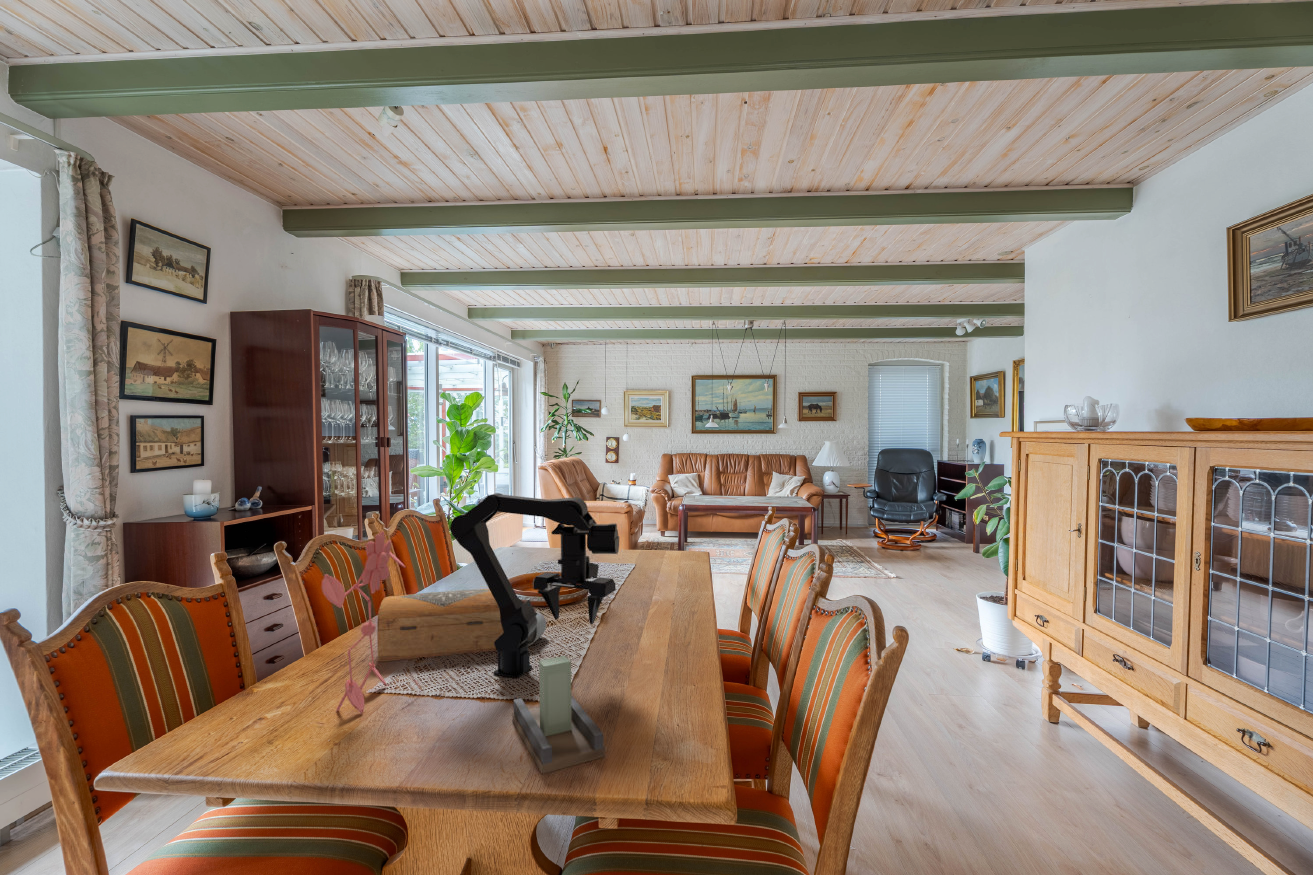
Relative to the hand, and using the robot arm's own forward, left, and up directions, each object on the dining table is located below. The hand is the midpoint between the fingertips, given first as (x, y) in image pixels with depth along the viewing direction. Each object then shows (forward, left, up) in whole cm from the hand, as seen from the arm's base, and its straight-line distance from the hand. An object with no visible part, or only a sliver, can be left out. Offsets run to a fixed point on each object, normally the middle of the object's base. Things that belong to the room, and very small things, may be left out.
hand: (574, 621), depth 136 cm
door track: (+11, -26, -12) cm, 31 cm away
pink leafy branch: (-31, -26, -12) cm, 42 cm away
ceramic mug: (-23, +13, -12) cm, 29 cm away
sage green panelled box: (+11, -26, -10) cm, 30 cm away
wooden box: (-41, +4, -12) cm, 43 cm away
